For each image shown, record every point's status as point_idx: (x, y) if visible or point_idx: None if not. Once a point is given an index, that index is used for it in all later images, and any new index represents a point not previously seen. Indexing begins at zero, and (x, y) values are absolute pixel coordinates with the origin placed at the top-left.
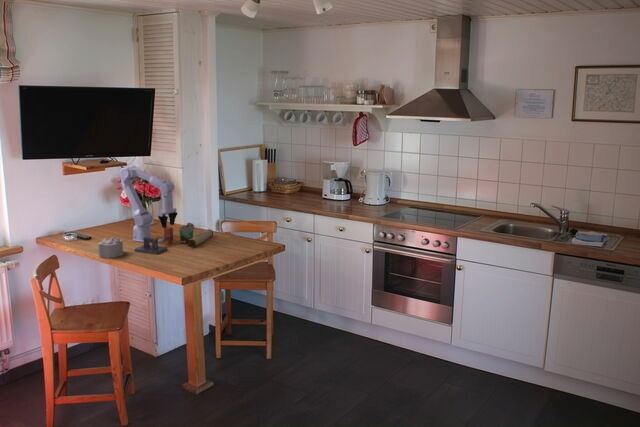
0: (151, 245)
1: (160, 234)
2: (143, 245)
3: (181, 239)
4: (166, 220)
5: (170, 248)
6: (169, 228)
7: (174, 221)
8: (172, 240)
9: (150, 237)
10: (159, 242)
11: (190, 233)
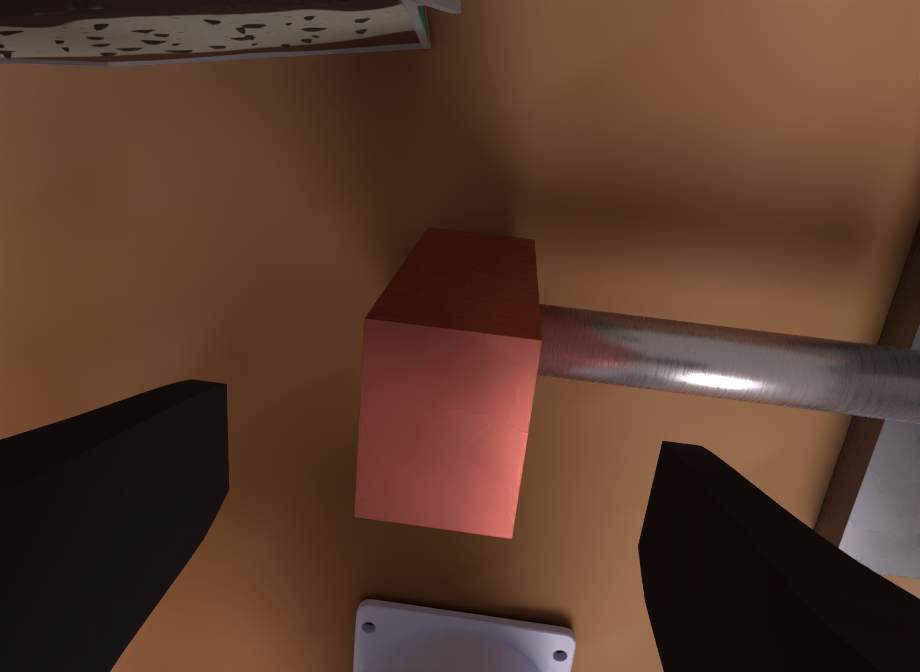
0: (897, 451)
1: None
2: (917, 571)
3: (424, 9)
4: (881, 615)
5: (842, 75)
6: (493, 375)
7: (104, 410)
8: (452, 234)
9: (426, 655)
10: (868, 346)
11: None
